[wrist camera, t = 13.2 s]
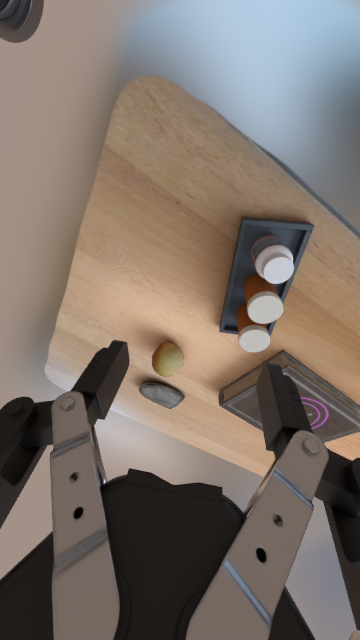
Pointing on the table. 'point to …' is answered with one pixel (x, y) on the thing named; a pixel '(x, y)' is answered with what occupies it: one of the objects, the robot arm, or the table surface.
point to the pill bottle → (272, 259)
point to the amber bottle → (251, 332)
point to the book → (316, 394)
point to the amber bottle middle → (262, 300)
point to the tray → (243, 266)
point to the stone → (161, 394)
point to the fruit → (167, 359)
